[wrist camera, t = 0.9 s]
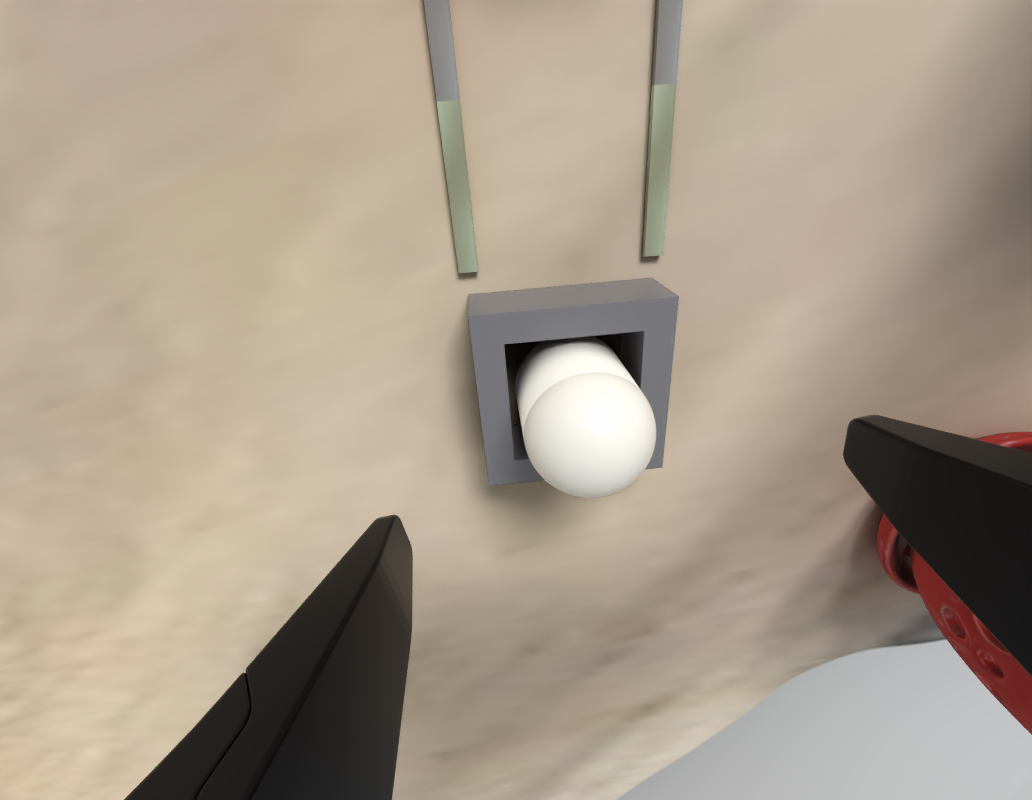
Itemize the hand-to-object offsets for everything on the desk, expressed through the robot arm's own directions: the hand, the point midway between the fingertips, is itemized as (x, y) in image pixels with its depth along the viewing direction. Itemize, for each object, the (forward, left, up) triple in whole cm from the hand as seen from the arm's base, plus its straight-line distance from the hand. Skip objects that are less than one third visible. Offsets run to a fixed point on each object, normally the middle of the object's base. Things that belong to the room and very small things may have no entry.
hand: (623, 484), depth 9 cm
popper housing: (-1, +3, -13) cm, 13 cm away
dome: (-1, +3, -11) cm, 12 cm away
